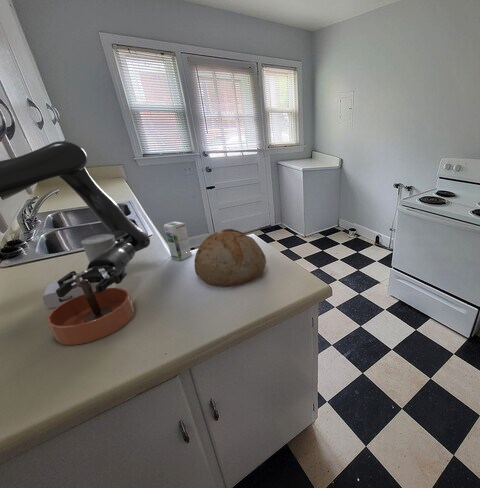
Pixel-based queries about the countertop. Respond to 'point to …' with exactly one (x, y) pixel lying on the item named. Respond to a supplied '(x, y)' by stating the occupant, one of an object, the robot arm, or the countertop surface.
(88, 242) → the white cylinder
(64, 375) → the countertop surface
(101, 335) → the bowl
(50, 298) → the white drawer box
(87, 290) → the paper towel holder
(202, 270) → the bread
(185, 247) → the syrup box
